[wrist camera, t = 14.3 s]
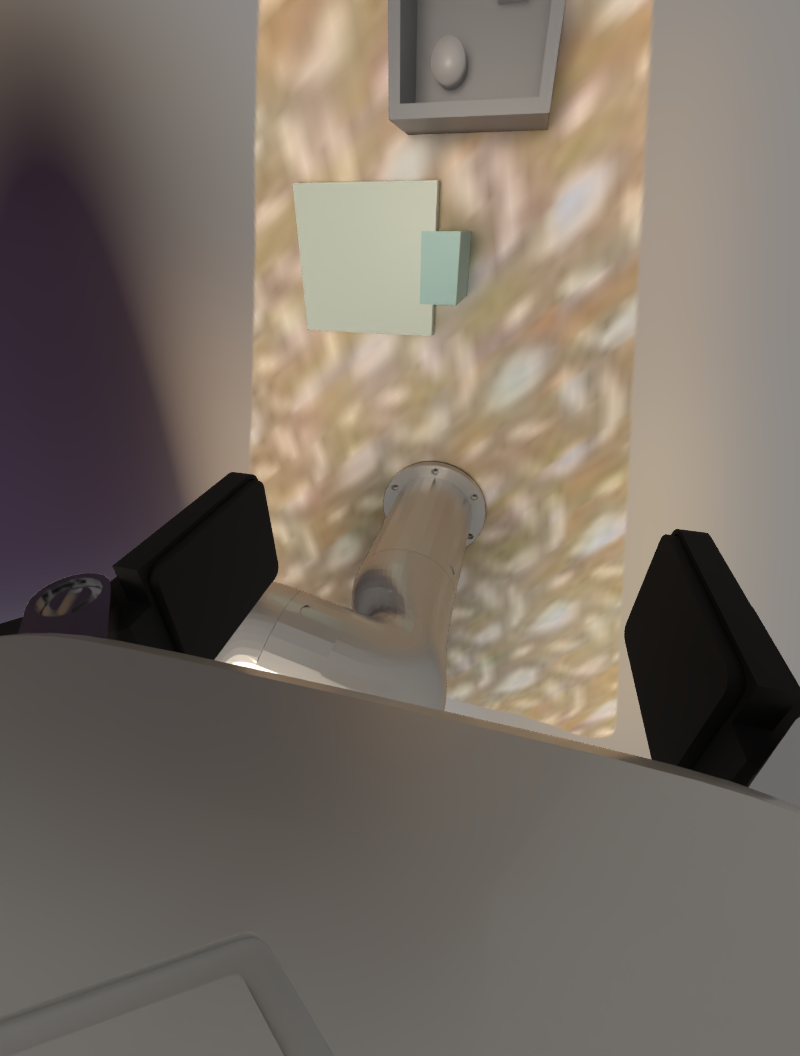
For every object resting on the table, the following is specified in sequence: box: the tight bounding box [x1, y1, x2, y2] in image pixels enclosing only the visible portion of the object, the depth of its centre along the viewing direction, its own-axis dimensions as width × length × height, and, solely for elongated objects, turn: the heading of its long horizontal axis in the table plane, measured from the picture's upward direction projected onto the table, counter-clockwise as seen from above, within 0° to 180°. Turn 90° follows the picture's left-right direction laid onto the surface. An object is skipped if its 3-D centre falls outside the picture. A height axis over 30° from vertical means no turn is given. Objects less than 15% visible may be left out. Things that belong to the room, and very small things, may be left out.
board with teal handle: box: [293, 180, 472, 336], centre depth 39 cm, size 16×12×7 cm
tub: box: [388, 0, 566, 135], centre depth 30 cm, size 12×11×6 cm
